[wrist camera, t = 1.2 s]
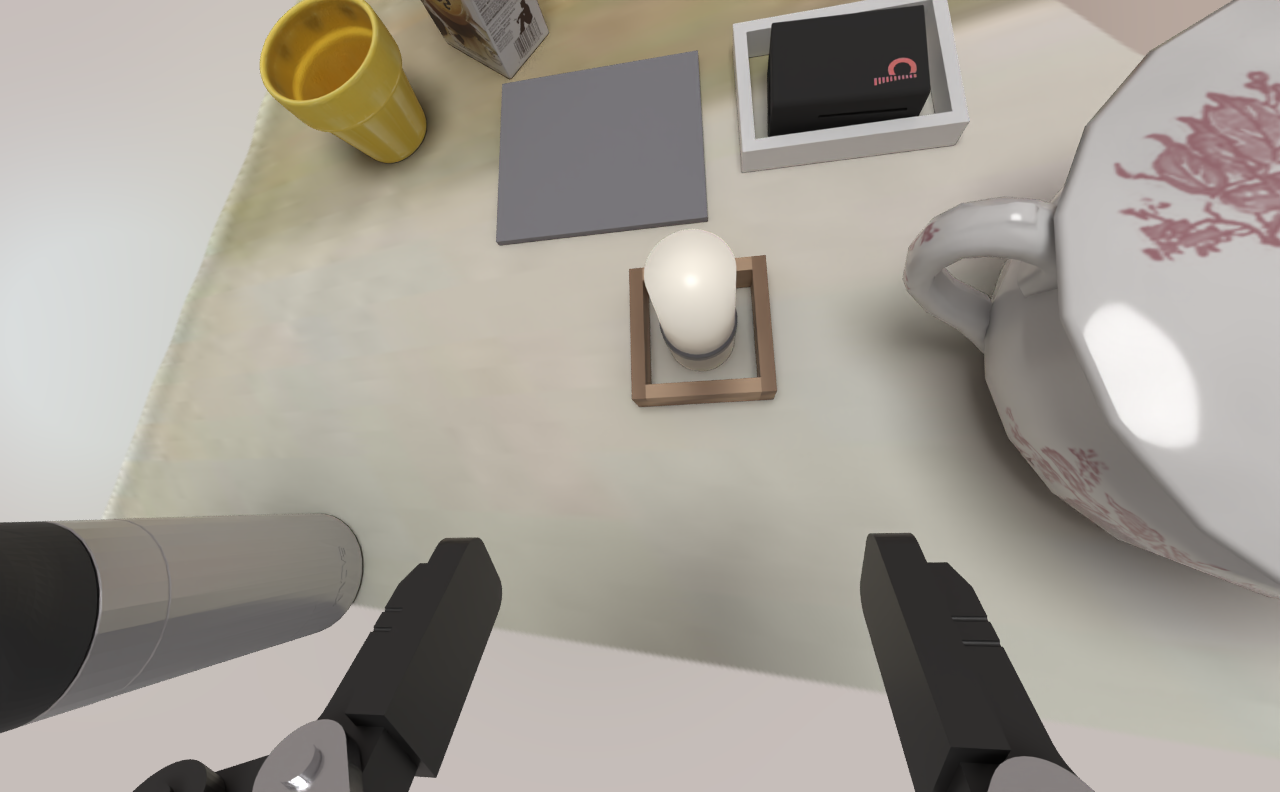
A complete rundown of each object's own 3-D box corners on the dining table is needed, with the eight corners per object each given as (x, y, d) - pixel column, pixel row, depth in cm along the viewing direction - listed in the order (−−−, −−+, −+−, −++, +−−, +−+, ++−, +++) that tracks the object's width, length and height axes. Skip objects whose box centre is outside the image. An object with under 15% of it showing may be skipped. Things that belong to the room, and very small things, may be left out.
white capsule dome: (668, 375, 39) (642, 321, 27) (666, 310, 40) (640, 232, 28) (738, 370, 38) (742, 312, 26) (734, 304, 39) (735, 221, 27)
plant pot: (428, 186, 46) (351, 106, 37) (335, 178, 48) (239, 99, 39) (458, 89, 48) (392, -11, 38) (366, 85, 50) (282, -11, 41)
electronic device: (767, 74, 43) (771, 20, 38) (901, 61, 41) (924, 2, 36) (767, 151, 41) (772, 105, 37) (907, 140, 39) (931, 90, 35)
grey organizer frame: (742, 172, 41) (742, 152, 39) (732, 50, 44) (732, 24, 41) (954, 145, 38) (969, 121, 36) (931, 16, 41) (944, -14, 38)
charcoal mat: (499, 245, 44) (496, 241, 43) (505, 89, 47) (502, 83, 46) (707, 221, 41) (707, 217, 40) (698, 56, 44) (697, 50, 43)
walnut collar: (639, 406, 38) (631, 399, 36) (636, 285, 41) (629, 269, 38) (773, 399, 37) (776, 390, 34) (762, 273, 39) (765, 255, 36)
